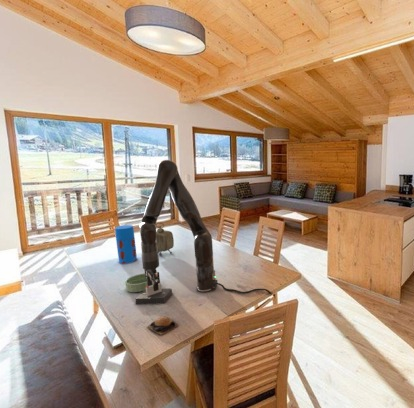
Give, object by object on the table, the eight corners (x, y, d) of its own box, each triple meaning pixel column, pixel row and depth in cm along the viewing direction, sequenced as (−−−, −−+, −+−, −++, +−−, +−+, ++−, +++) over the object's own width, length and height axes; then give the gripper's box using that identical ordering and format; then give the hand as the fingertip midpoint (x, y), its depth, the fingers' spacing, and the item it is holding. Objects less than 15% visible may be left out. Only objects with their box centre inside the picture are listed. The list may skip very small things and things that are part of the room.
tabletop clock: (174, 253, 212) (172, 221, 208) (166, 257, 204) (163, 224, 199) (158, 251, 215) (155, 220, 210) (149, 256, 206) (146, 223, 202)
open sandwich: (146, 327, 122) (145, 320, 121) (165, 318, 129) (164, 311, 128) (160, 336, 116) (159, 328, 116) (178, 325, 123) (177, 318, 123)
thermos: (130, 263, 192) (126, 229, 187) (115, 263, 192) (110, 229, 187) (140, 257, 202) (136, 225, 198) (125, 257, 203) (121, 224, 198)
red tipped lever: (160, 290, 149) (159, 282, 148) (161, 291, 148) (160, 283, 147) (146, 295, 144) (145, 286, 143) (147, 296, 142) (146, 287, 142)
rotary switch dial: (172, 293, 152) (172, 287, 152) (163, 303, 141) (163, 298, 141) (146, 293, 151) (145, 288, 151) (135, 304, 140) (134, 299, 140)
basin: (160, 280, 167) (159, 273, 166) (148, 292, 152) (147, 284, 151) (135, 281, 166) (134, 273, 165) (120, 293, 151) (119, 285, 150)
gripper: (163, 260, 140) (166, 289, 143) (153, 253, 150) (155, 281, 152) (147, 264, 135) (150, 295, 138) (137, 257, 144) (140, 285, 147)
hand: (153, 287), depth 145 cm, fingers open, 8 cm apart
